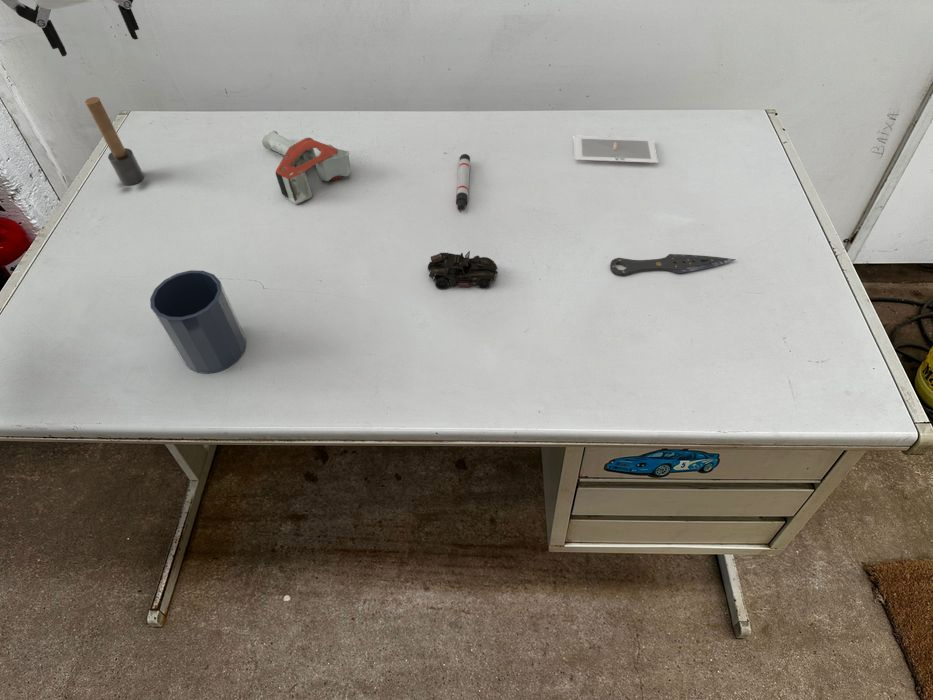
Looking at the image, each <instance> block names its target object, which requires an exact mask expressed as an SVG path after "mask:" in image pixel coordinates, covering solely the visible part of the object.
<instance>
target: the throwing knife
mask: <svg viewBox="0 0 933 700" xmlns="http://www.w3.org/2000/svg"><path fill="white" fill-rule="evenodd" d="M734 261H737V259H736V258H728V257H720V256H711V255H701V254H699V255H698V254H683V253H669V254H667V255H666V256H664V257H661V258H652V259H632V258H631V259H630V258H624V257H616V258H613V259H612V260H611V261H610V265H609V269H610V271H611V272H612V274H614V275H615V276H619V277H626V276H628V275H631V274H635V273H640V272H647V271H648V272H649V271H668V272H673V273H676V274H682V273H688V272H693V271H698V270H699V271H700V270H704V269H707V268H712V267H716V266H721V265H724V264H727V263H730V262H734ZM616 265H622V266H624V267H625V268H624V269H619V268H618V267H617V266H616Z"/></svg>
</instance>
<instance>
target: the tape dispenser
mask: <svg viewBox="0 0 933 700" xmlns="http://www.w3.org/2000/svg"><path fill="white" fill-rule="evenodd" d="M261 142H262V146H263V149H265V150H271V151H273V152H276V153H279V154H280V155H282V156H283V157H282V159H281V161H280V163H279V165H277V168H276V169H275V176H276V180H277V183H278V186H279V189H280V192H281V194H282V195H283V197H284V198H285V199H286V200H288V201H290V202H291V203H293V204H294V205H299V204H301V203H303V202H304V201H307V200H309V199H311V198H312V196H313V195H312V192H311V188H310V186H309V185H310V184H309V182H308V178H307V175H306V173H305V172H306V171H307V170H309V169H310V168H312V167H313V166H315V168H316V173H317V175H318V177H319V178H320V180H322V181H325V182H329V181H330V180H333V181H337V180H340V178H341V176H343V177H348V176H349V175H350V174H351V160H350V151H349V150H344V149H339V148H337V147H335V146H333V145H332V144H326V143H324V142H320V141H317V140H315V139H313V138H312V137H304V138H303V139H300V140H299V141H297V142H294V141H292V140H290V139H288V138H287V137H285V136H283V135H280V134H279V133H278V131H277V130H271V131H269V132H268V133H267V134H265V135H264V136H263V137H262V139H261ZM315 149H316V150H318V151H319V154H318V155H317V156H316V153H315Z"/></svg>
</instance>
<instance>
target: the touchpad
mask: <svg viewBox="0 0 933 700" xmlns="http://www.w3.org/2000/svg"><path fill="white" fill-rule="evenodd" d="M572 136H573V153H574V160H575V161H576V160H578V161H598V162H599V161H601V162H603V161H604V162H629V163H630V162H631V163H652V164H653V163H654V164H655V163H656V164H657V163H659V159H658V156H657V151H656V145H655V142H654V138H653V137H633V136H632V137H631V136H630V137H629V136H628V137H627V136H602V135H598V136H597V135H576V134H575V135H574V134H573V135H572Z"/></svg>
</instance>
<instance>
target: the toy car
mask: <svg viewBox="0 0 933 700" xmlns="http://www.w3.org/2000/svg"><path fill="white" fill-rule="evenodd" d="M470 255H471V251H470V250H469V251H468V252H467V253H466V254H465V255H464V253H463V252H461V253H460V254H456V253H450V252H439V253H437V254H433V255H432V256H430V261H429V263H428V264H427V270H428V273H429V274H428V277H430V278H431V279H432V280H433V282H435V287H436V288H437V289H439V290H445V289H446V290H447V289H448V288H449V287H450V288H452V287H456V286H457V287H459V288H460V287H461V288H469V287H470V286H471V285H472V286H477V285H478V286H479V288H481V289H483V290H484V289H488V288H489V287H490V285H491V282H494V281H495V280H496V276H497V275H498V271H497V270H498V267H497V264H496V263H495V261H494V260H493V259H492V258H490V257H487V256H480V255H475V256H473V257H470Z"/></svg>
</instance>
